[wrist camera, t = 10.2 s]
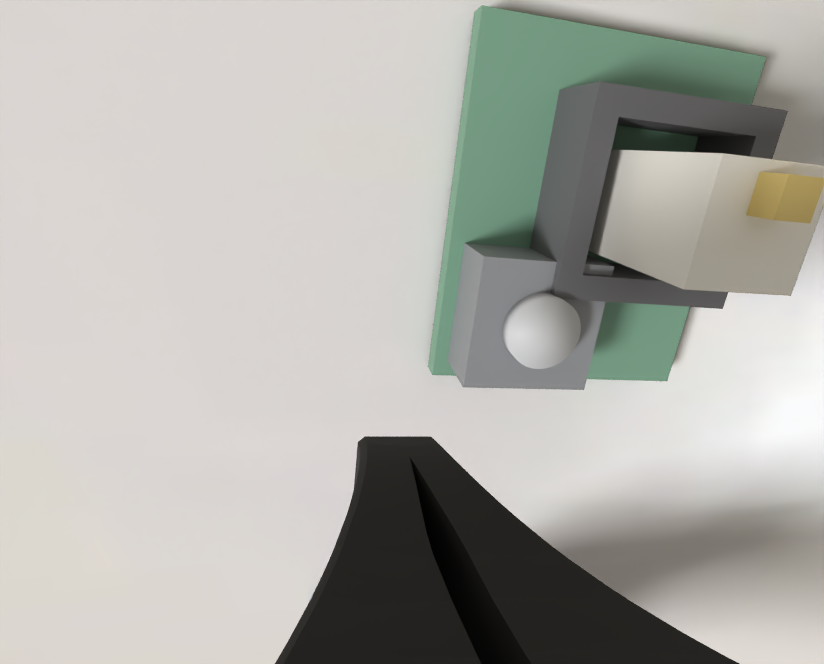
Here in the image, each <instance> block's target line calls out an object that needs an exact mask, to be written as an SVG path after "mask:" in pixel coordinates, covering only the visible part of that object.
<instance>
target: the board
mask: <svg viewBox="0 0 824 664" xmlns="http://www.w3.org/2000/svg"><path fill="white" fill-rule="evenodd" d="M765 60H766V57H765V56H759V55H754V54H748V53H743V52H737V51H732V50H726V49H720V48H715V47H709V46H704V45H698V44H693V43H687V42H682V41H676V40H671V39H665V38H660V37H654V36H649V35H643V34H637V33H632V32H626V31H621V30H615V29H610V28H604V27H599V26H593V25H588V24H582V23H577V22H571V21H566V20H560V19H555V18H549V17H543V16H538V15H532V14H527V13H521V12H516V11H510V10H505V9H499V8H494V7H488V6H483V5H482V6H481V7H480V8H478V9H477V10H476V11H475V12H474V19H473V27H472V34H471V42H470V50H469V57H468V65H467V72H466V80H465V88H464V95H463V103H462V111H461V118H460V126H459V134H458V141H457V149H456V156H455V164H454V172H453V179H452V187H451V195H450V202H449V210H448V217H447V225H446V233H445V240H444V248H443V256H442V263H441V271H440V279H439V286H438V294H437V301H436V309H435V317H434V324H433V332H432V340H431V347H430V355H429V363H428V367H429V369H430V371H431V373H432V375H453V376H457V378H458V379H459V381H460V383H461V384H462V386H463V387H477V388H524V389H572V390H584V387H585V383H586V379H608V380H646V381H667V380H668V376H669V373H670V370H671V367H672V363H673V360H674V357H675V354H676V350H677V347H678V344H679V341H680V337H681V334H682V331H683V327H684V324H685V321H686V318H687V314H688V311H689V308H690V307H703V308H719V309H723V306H724V303H725V300H726V297H727V294H728V292H719V291H702V290H684V289H681V288H679V287H676V286H674V285H671V284H669V283H667V282H664V281H662V280H659V279H657V278H654V277H652V276H649V275H647V274H644V273H642V272H640V271H637V270H635V269H632V268H630V267H627V266H625V265H622V264H620V263H617V262H615V261H613V260H610V259H608V258H605V257H603V256H600V255H598V254H595V253H593V252H590V251H588V250H589V246H590V242H591V237H592V233H593V228H594V224H595V220H596V215H597V211H598V206H599V202H600V198H601V193H602V189H603V184H604V180H605V176H606V171H607V167H608V162H609V158H610V154H611V150H639V151H668V152H698V153H724V154H733V155H741V156H749V157H757V158H766V159H772V157H773V154H774V151H775V148H776V145H777V142H778V139H779V136H780V133H781V130H782V127H783V124H784V121H785V118H786V115H787V112H788V111H786V110H779V109H773V108H766V107H760V106H754V105H752V102H753V99H754V96H755V92H756V89H757V86H758V83H759V79H760V76H761V73H762V70H763V66H764V63H765Z"/></svg>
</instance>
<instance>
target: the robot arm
mask: <svg viewBox="0 0 824 664" xmlns="http://www.w3.org/2000/svg"><path fill="white" fill-rule="evenodd" d="M275 664H739V663H737V662H735V661H733V660H731V659H729V658H727V657H725V656H724V655H722V654H720V653H718V652H716V651H715V650H713V649H711V648H709V647H707V646H706V645H704V644H702V643H700V642H698V641H696V640H695V639H693V638H691V637H689V636H687V635H686V634H684V633H682V632H681V631H679V630H677V629H676V628H674V627H672V626H671V625H669V624H667V623H666V622H664V621H662V620H661V619H659V618H657V617H656V616H654V615H652V614H651V613H649V612H647V611H646V610H644V609H642V608H641V607H639V606H637V605H636V604H634V603H632V602H631V601H629V600H628V599H626V598H625V597H623V596H622V595H620V594H619V593H617V592H615V591H614V590H612V589H611V588H609V587H608V586H606V585H605V584H603V583H602V582H601V581H599V580H598V579H596V578H595V577H594V576H592V575H591V574H589V573H588V572H586V571H585V570H584V569H582V568H581V567H579V566H578V565H576V564H575V563H574V562H572V561H571V560H569V559H568V558H567V557H565V556H564V555H563V554H561V553H560V552H559V551H557V550H556V549H555V548H553V547H552V546H551V545H549V544H548V543H547V542H546V541H544V540H543V539H542V538H541V537H540V536H538V535H537V534H536V533H535V532H533V531H532V530H531V529H530V528H529V527H527V526H526V525H525V524H524V523H523V522H521V521H520V520H519V519H518V518H517V517H515V516H514V515H513V514H512V513H511V512H510V511H508V510H507V509H506V508H505V507H504V506H503V505H502V504H501V503H499V502H498V501H497V500H496V499H495V498H494V497H493V496H492V495H491V494H490V493H489V492H487V491H486V490H485V489H484V488H483V487H482V486H481V485H480V484H479V483H478V482H477V481H476V480H475V479H474V478H473V477H472V476H471V475H470V474H469V473H468V472H466V471H465V470H464V469H463V468H462V467H461V466H460V465H459V464H458V463H457V462H456V461H455V460H454V459H453V458H452V457H451V456H450V455H449V454H448V453H447V452H446V451H445V450H444V449H443V448H442V447H441V446H440V445H439V444H438V443H437V442H436V441H435V440H434V439H433V438H432V437H364V438H363V439H361V440H360V441H359V442H358V448H357V460H356V472H355V484H354V492H353V496H352V499H351V503H350V506H349V510H348V513H347V516H346V518H345V521H344V524H343V526H342V529H341V532H340V534H339V537H338V540H337V542H336V545H335V548H334V550H333V553H332V555H331V557H330V560H329V562H328V564H327V566H326V569H325V571H324V573H323V575H322V577H321V579H320V581H319V584H318V586H317V588H316V590H315V592H314V594H313V595H312V596H311V599H310V602H309V604H308V606H307V608H306V609H305V611H304V613H303V615H302V617H301V619H300V620H299V622H298V624H297V626H296V628H295V630H294V631H293V633H292V635H291V637H290V639H289V641H288V642H287V644H286V646H285V648H284V649H283V651H282V653H281V654H280V656H279V658H278V660H277V661H276V663H275Z"/></svg>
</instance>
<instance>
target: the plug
mask: <svg viewBox="0 0 824 664" xmlns="http://www.w3.org/2000/svg"><path fill="white" fill-rule="evenodd" d="M823 206H824V166H823V165H815V164H807V163H799V162H790V161H782V160H774V159H766V158H757V157H749V156H741V155H733V154H724V153H698V152H668V151H639V150H611V154H610V158H609V162H608V167H607V171H606V176H605V180H604V184H603V189H602V193H601V198H600V202H599V206H598V211H597V215H596V220H595V224H594V228H593V233H592V237H591V242H590V246H589V250H588V251H590V252H593V253H595V254H598V255H600V256H603V257H605V258H608V259H610V260H613V261H615V262H617V263H620V264H622V265H625V266H627V267H630V268H632V269H635V270H637V271H640V272H642V273H644V274H647V275H649V276H652V277H654V278H657V279H659V280H662V281H664V282H667V283H669V284H671V285H674V286H676V287H679V288H681V289H684V290H702V291H719V292H736V293H753V294H771V295H788V296H791V294H792V291H793V288H794V286H795V283H796V280H797V278H798V275H799V272H800V269H801V267H802V264H803V261H804V258H805V256H806V253H807V250H808V247H809V245H810V242H811V239H812V236H813V234H814V231H815V228H816V226H817V223H818V220H819V217H820V215H821V212H822V209H823Z"/></svg>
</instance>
